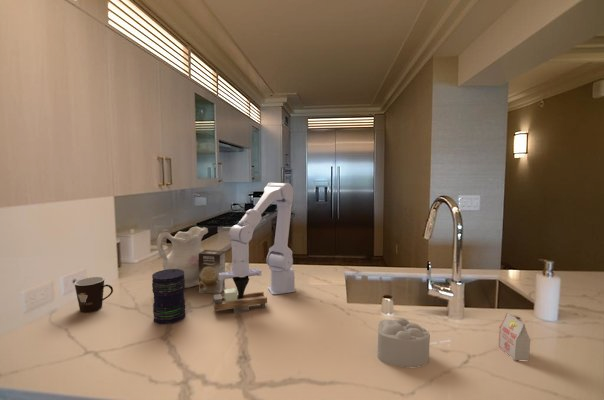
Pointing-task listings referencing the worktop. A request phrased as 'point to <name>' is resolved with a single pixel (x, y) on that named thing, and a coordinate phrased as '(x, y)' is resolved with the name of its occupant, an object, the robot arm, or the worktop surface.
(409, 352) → the lumpy-topped squat cylinder
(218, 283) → the coffee box
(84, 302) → the coffee mug
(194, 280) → the ceramic pitcher
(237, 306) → the beam
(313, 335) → the worktop surface
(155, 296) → the storage jar
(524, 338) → the gable top carton
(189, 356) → the worktop surface
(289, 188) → the robot arm
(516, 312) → the worktop surface
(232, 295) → the block
